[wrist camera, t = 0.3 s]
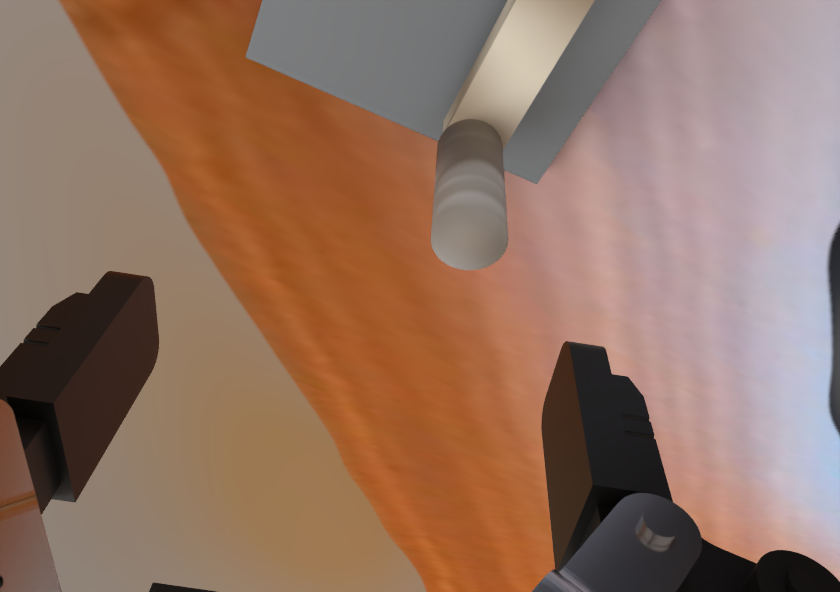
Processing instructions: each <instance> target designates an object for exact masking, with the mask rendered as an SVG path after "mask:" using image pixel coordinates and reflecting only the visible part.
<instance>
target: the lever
mask: <svg viewBox="0 0 840 592" xmlns="http://www.w3.org/2000/svg"><path fill="white" fill-rule="evenodd" d="M594 1H595V0H508V1H507V2H506V4H505V6H504V8H503V10H502V12H501V14H500V16H499V18H498V19H497V21H496V23H495V25H494V27H493V29H492V31H491V33H490V35H489V36H488V38H487V40H486V42H485V44H484V46H483V48H482V50H481V52H480V53H479V55H478V57H477V59H476V61H475V63H474V65H473V67H472V68H471V70H470V72H469V74H468V76H467V78H466V80H465V82H464V84H463V85H462V87H461V89H460V91H459V93H458V95H457V97H456V99H455V101H454V102H453V104H452V106H451V108H450V110H449V112H448V114H447V116H446V118H445V119H444V123H443V133H442V135H441V136H440V139H439V142H438V148H437V162H436V176H435V190H434V204H433V218H432V232H431V244H432V248H433V250H434V252H435V254H436V255H437V256H438V258H439V259H440V260H442V261H443V262H444V263H446V264H447V265H449V266H451V267H454V268H457V269H462V270H477V269H482V268H485V267H487V266H490V265H492V264H493V263H495V262H496V261H498V260H499V259H500V258H501V256H502V255H503V254H504V252H505V251H506V248H507V245H508V227H507V211H506V195H505V179H504V163H503V149H504V148H505V146H506V144H507V143H508V141H509V139H510V138H511V136H512V135H513V133H514V131H515V130H516V128H517V126H518V125H519V123H520V121H521V120H522V118H523V117H524V115H525V113H526V112H527V110H528V108H529V107H530V105H531V104H532V102H533V100H534V99H535V97H536V95H537V94H538V92H539V90H540V89H541V87H542V86H543V84H544V82H545V81H546V79H547V77H548V76H549V74H550V73H551V71H552V69H553V68H554V66H555V64H556V63H557V61H558V59H559V58H560V56H561V55H562V53H563V51H564V50H565V48H566V46H567V45H568V43H569V42H570V40H571V38H572V37H573V35H574V33H575V32H576V30H577V28H578V27H579V25H580V24H581V22H582V20H583V19H584V17H585V15H586V14H587V12H588V11H589V9H590V7H591V6H592V4H593V2H594Z"/></svg>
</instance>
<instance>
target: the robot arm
mask: <svg viewBox="0 0 840 592" xmlns="http://www.w3.org/2000/svg"><path fill="white" fill-rule="evenodd" d="M158 349H159V334H158V324H157V314H156V303H155V293H154V285H153V281H152V279H151V278H150V277H147V276H140V275H133V274H127V273H120V272H113V271H109V272H107V273H106V274H105V275H104V276H103V277H102V278H101V279H100V281H99V282H98V283H97V284H96V286H95V287H94V288H93V289H92V291H91V292H90V293H89V294H84V293H75V294H73V295H71V296H70V297H68V298H66V299H65V300H63V301H61V302H59V303H58V304H56V305H54V306H52V307H51V308H50V310H49V311H48V312H47V313H46V314H45V316H44V317H43V318H42V319H41V320H40V321H39V322H38V324H37V327H36V328H33V329H32V331H31V332H30V333H29V334H28V335H27V336H26V337H25V339H24V343H20V344H19V346H18V347H17V348H16V349H15V350H14V351H13V352H12V354H11V355H10V356H9V357H8V358H7V360H6V361H5V362H4V363H3V364H2V365H1V366H0V592H62V591H61V587H60V583H59V579H58V576H57V572H56V568H55V565H54V561H53V557H52V553H51V549H50V546H49V542H48V538H47V535H46V531H45V527H44V523H43V520H42V516H41V515H42V513H43V511H44V510H45V508H46V507H47V505H48V503H49V502H50V500H51V499H55V500H63V501H69V502H76V500H77V499H78V497H79V495H80V494H81V492H82V490H83V488H84V487H85V485H86V483H87V481H88V480H89V478H90V476H91V475H92V473H93V471H94V470H95V468H96V466H97V465H98V463H99V461H100V459H101V458H102V456H103V454H104V453H105V451H106V449H107V447H108V446H109V444H110V442H111V441H112V439H113V437H114V435H115V434H116V432H117V430H118V429H119V427H120V425H121V423H122V421H123V420H124V418H125V417H126V415H127V413H128V411H129V409H130V408H131V406H132V405H133V403H134V401H135V399H136V398H137V396H138V394H139V393H140V391H141V389H142V387H143V386H144V384H145V382H146V381H147V379H148V377H149V376H150V374H151V372H152V370H153V368H154V366H155V363H156V359H157V355H158ZM542 439H543V449H544V459H545V469H546V479H547V489H548V500H549V510H550V520H551V530H552V540H553V550H554V561H555V570H552V571H551V572H549V573H548V574H547V575H546V576H545V577H544V578H543V579H542V581H541V582H540V583H539V584H538V585H537V586H536V587H535V589H534V590H533V591H532V592H840V582H839V581H838V579H837V578H836V577H835V576H834V575H833V574H832V573H831V572H830V571H828V570H827V569H826V568H825V567H823V566H822V565H820V564H819V563H817V562H816V561H814V560H812V559H810V558H809V557H807V556H804V555H802V554H799V553H796V552H792V551H786V550H776V551H771V552H769V553H767V554H765V555H764V556H762V557H761V558H760V560H759V561H758V563H757V564H756V563H754V562H751V561H749V560H747V559H744V558H742V557H740V556H737V555H735V554H733V553H730V552H728V551H725V550H723V549H721V548H719V547H716V546H714V545H712V544H711V543H709V542H707V541H706V540H704V539H703V538H701V534H700V531H699V529H698V527H697V525H696V524H695V522H694V521H693V519H692V518H691V517H690V516H689V515H688V514H687V513H686V512H685V511H684V510H683V509H682V508H681V507H679V506H678V505H676V504H675V503H673V501H672V497H671V493H670V490H669V486H668V483H667V479H666V475H665V472H664V468H663V465H662V461H661V457H660V454H659V450H658V447H657V443H656V439H654V432H653V429H652V425H651V422H649V414H648V411H647V407H646V403H645V400H644V397H643V395H642V394H641V393H640V392H639V390H638V389H637V388H636V386H635V385H634V384H633V383H632V381H631V380H630V379H629V378H628V377H626V376H619V375H613V374H611V370H610V365H609V361H608V357H607V352H606V349H605V348H604V347H601V346H595V345H588V344H581V343H575V342H568V341H566V342H565V343H564V344H563V346H562V348H561V351H560V354H559V357H558V360H557V364H556V367H555V370H554V373H553V376H552V379H551V382H550V385H549V388H548V392H547V395H546V398H545V402H544V406H543V413H542ZM149 592H215V591H208V590H201V589H194V588H187V587H180V586H173V585H166V584H159V583H153V584H152V586H151V588H150V591H149Z"/></svg>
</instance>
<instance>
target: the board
mask: <svg viewBox="0 0 840 592" xmlns="http://www.w3.org/2000/svg"><path fill="white" fill-rule="evenodd" d="M507 1H508V0H262V4H261V7H260V10H259V14H258V17H257V20H256V24H255V27H254V30H253V34H252V37H251V41H250V44H249V47H248V51H247V54H246V58H248V59H251V60H253V61H255V62H258V63H260V64H262V65H265V66H267V67H269V68H271V69H274V70H276V71H278V72H281V73H283V74H285V75H287V76H290V77H292V78H294V79H297V80H299V81H301V82H304V83H306V84H308V85H310V86H313V87H315V88H317V89H320V90H322V91H324V92H326V93H329V94H331V95H333V96H336V97H338V98H340V99H343V100H345V101H347V102H349V103H352V104H354V105H356V106H359V107H361V108H363V109H365V110H368V111H370V112H372V113H375V114H377V115H379V116H382V117H384V118H386V119H388V120H391V121H393V122H395V123H398V124H400V125H402V126H404V127H407V128H409V129H411V130H414V131H416V132H418V133H421V134H423V135H425V136H427V137H430V138H432V139H434V140H437V141H439V139H440V136H441V135H442V133H443V123H444V119H445V118H446V116H447V114H448V112H449V110H450V108H451V106H452V104H453V102H454V101H455V99H456V97H457V95H458V93H459V91H460V89H461V87H462V85H463V84H464V82H465V80H466V78H467V76H468V74H469V72H470V70H471V68H472V67H473V65H474V63H475V61H476V59H477V57H478V55H479V53H480V52H481V50H482V48H483V46H484V44H485V42H486V40H487V38H488V36H489V35H490V33H491V31H492V29H493V27H494V25H495V23H496V21H497V19H498V18H499V16H500V14H501V12H502V10H503V8H504V6H505V4H506V2H507ZM660 1H661V0H595V1H594V2H593V4H592V6H591V7H590V9H589V11H588V12H587V14H586V15H585V17H584V19H583V20H582V22H581V24H580V25H579V27H578V28H577V30H576V32H575V33H574V35H573V37H572V38H571V40H570V42H569V43H568V45H567V46H566V48H565V50H564V51H563V53H562V55H561V56H560V58H559V59H558V61H557V63H556V64H555V66H554V68H553V69H552V71H551V73H550V74H549V76H548V77H547V79H546V81H545V82H544V84H543V86H542V87H541V89H540V90H539V92H538V94H537V95H536V97H535V99H534V100H533V102H532V104H531V105H530V107H529V108H528V110H527V112H526V113H525V115H524V117H523V118H522V120H521V121H520V123H519V125H518V126H517V128H516V130H515V131H514V133H513V135H512V136H511V138H510V139H509V141H508V143H507V144H506V146H505V148H504V149H503V163H504V170H505V171H508V172H510V173H512V174H515V175H517V176H519V177H521V178H524V179H526V180H528V181H531V182H533V183H535V184H537V183H538V182H539V180H540V179H541V177H542V176H543V174H544V173H545V171H546V170H547V168H548V167H549V165H550V164H551V162H552V161H553V159H554V158H555V156H556V155H557V154H558V152H559V151H560V149H561V148H562V146H563V145H564V143H565V142H566V140H567V139H568V137H569V136H570V134H571V133H572V131H573V130H574V128H575V127H576V125H577V124H578V122H579V121H580V120H581V118H582V117H583V115H584V114H585V112H586V111H587V109H588V108H589V106H590V105H591V103H592V102H593V100H594V99H595V97H596V96H597V94H598V93H599V91H600V90H601V88H602V87H603V85H604V84H605V83H606V81H607V80H608V78H609V77H610V75H611V74H612V72H613V71H614V69H615V68H616V66H617V65H618V63H619V62H620V60H621V59H622V57H623V56H624V54H625V53H626V51H627V50H628V49H629V47H630V46H631V44H632V43H633V41H634V40H635V38H636V37H637V35H638V34H639V32H640V31H641V29H642V28H643V26H644V25H645V23H646V22H647V20H648V19H649V17H650V16H651V15H652V13H653V12H654V10H655V9H656V7H657V6H658V4H659V3H660Z"/></svg>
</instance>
